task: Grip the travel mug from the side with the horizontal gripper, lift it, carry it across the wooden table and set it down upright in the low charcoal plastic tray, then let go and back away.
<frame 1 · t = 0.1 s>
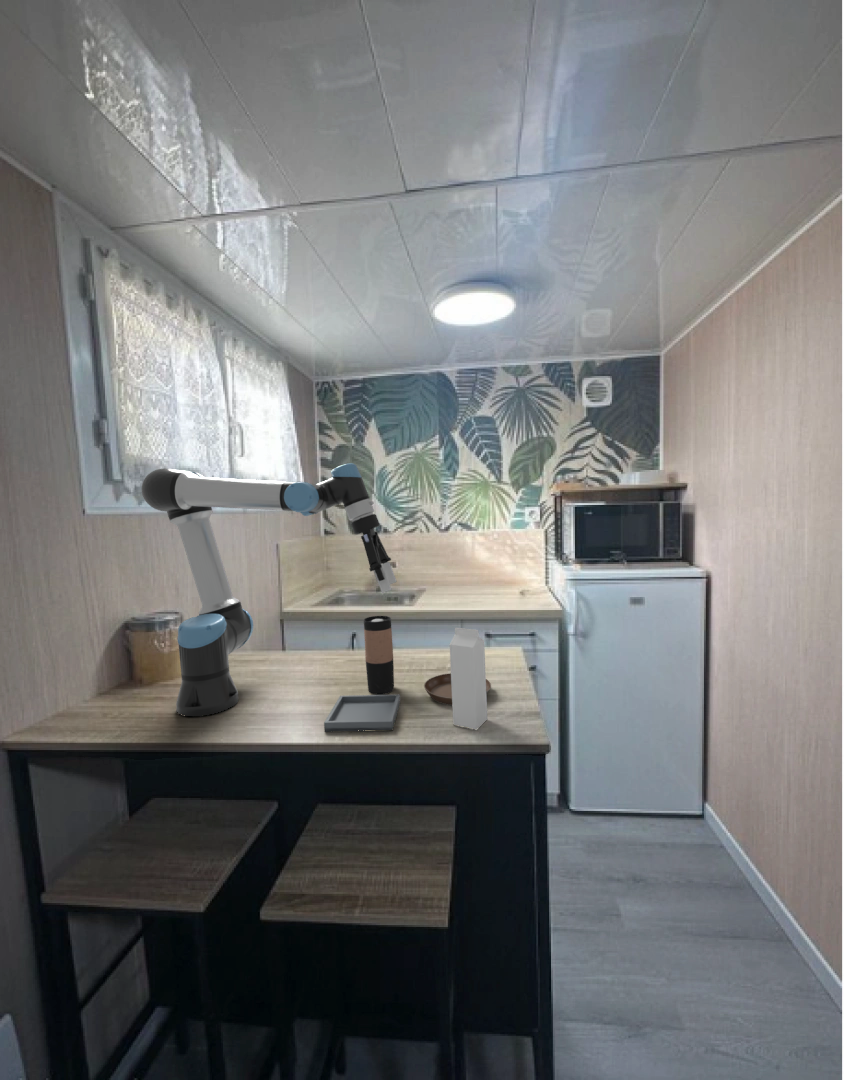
hand: (389, 587, 137), 28 cm above the table, tool tilted 20°, fingers open, 13 cm apart
travel mug: (381, 690, 134), on the table
plant saucer: (457, 696, 128), on the table
milk: (470, 723, 111), on the table
tray: (364, 716, 117), on the table
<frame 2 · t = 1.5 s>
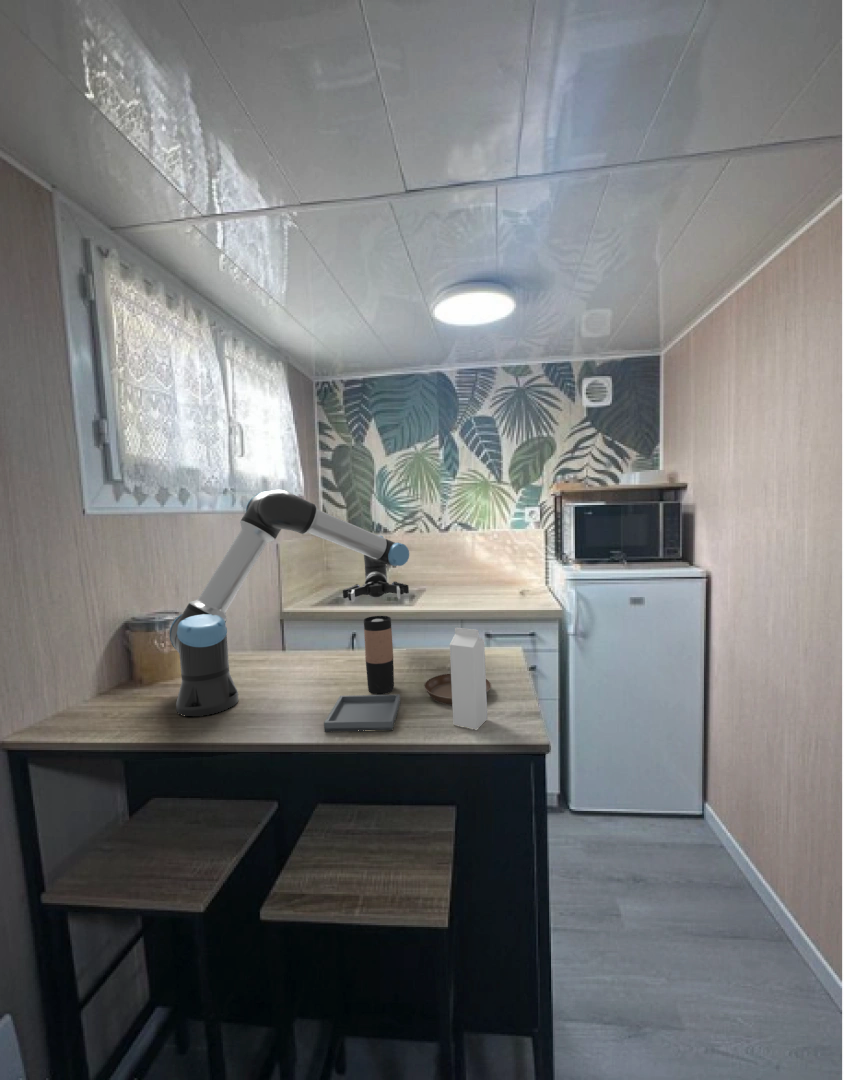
hand: (375, 596, 141), 25 cm above the table, tool horizontal, fingers open, 13 cm apart
nothing on the table moved.
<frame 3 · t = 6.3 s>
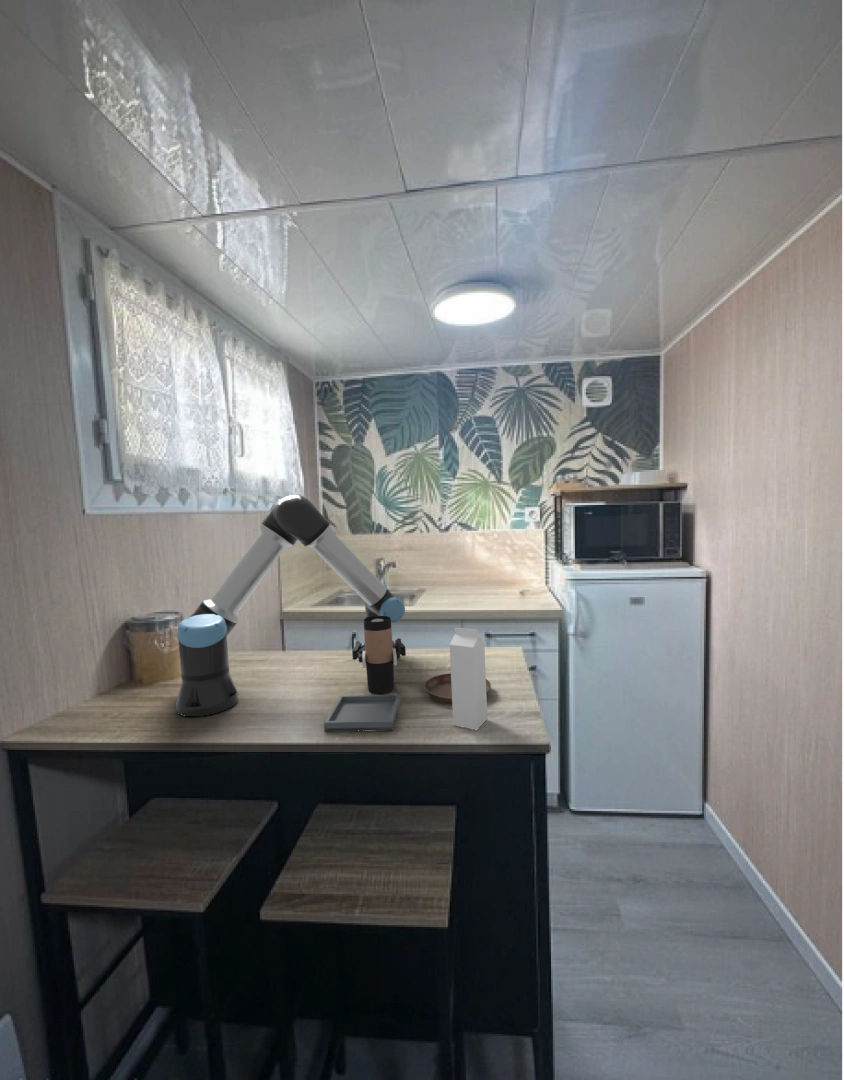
hand: (379, 661, 129), 10 cm above the table, tool horizontal, fingers closed on travel mug, 8 cm apart
travel mug: (381, 690, 134), on the table, touching gripper
everything else where it was.
when the fingers open (11 cm above the table, at t = 12.1 s): travel mug drops 1 cm, resting on tray.
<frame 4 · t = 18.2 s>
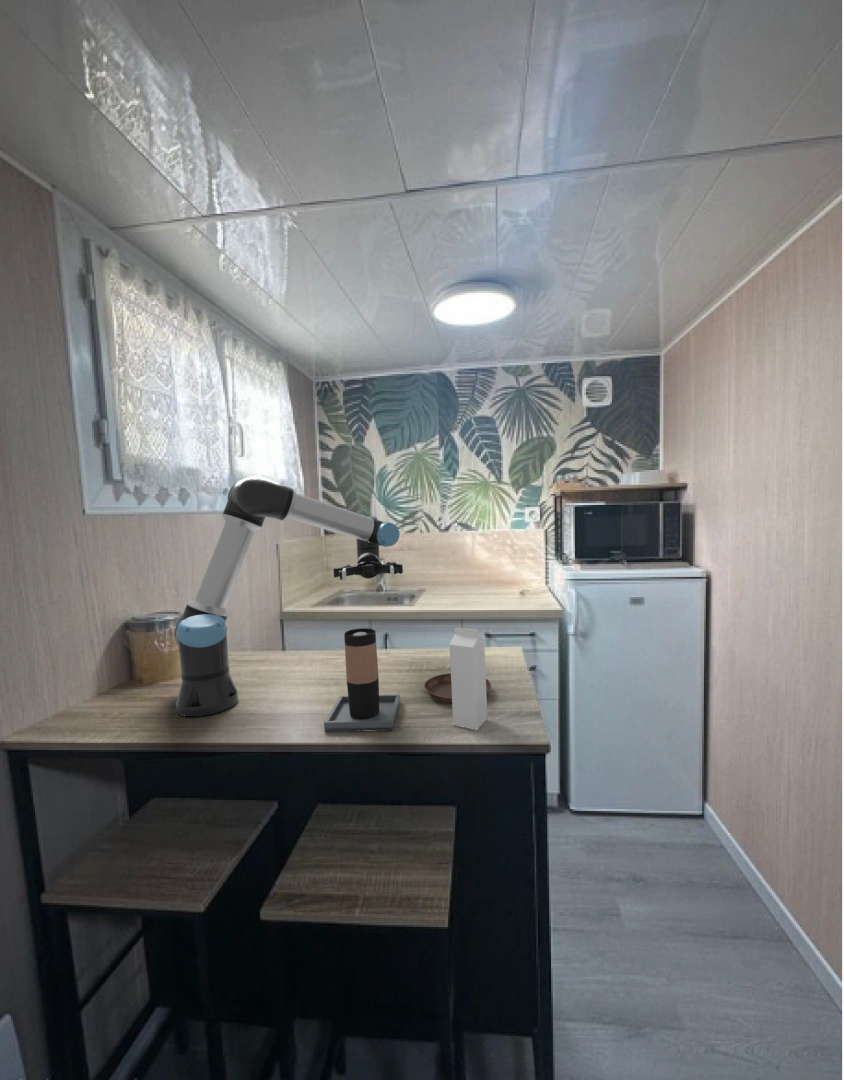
hand: (368, 574, 134), 32 cm above the table, tool horizontal, fingers open, 13 cm apart
travel mug: (364, 713, 117), point 1 cm above the table, touching tray
everything else where it was.
at the end: travel mug inside the target area on the tray (0.0 cm from its centre), point 0.6 cm above the tray's base; travel mug tilted 0°; the gripper is holding nothing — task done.
